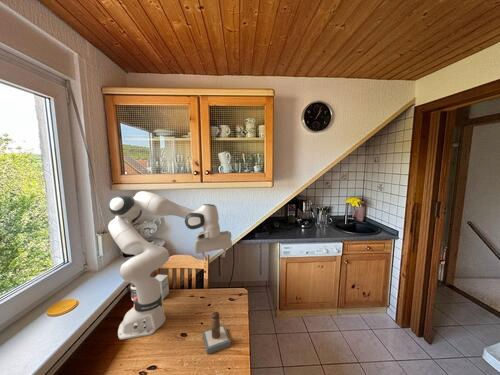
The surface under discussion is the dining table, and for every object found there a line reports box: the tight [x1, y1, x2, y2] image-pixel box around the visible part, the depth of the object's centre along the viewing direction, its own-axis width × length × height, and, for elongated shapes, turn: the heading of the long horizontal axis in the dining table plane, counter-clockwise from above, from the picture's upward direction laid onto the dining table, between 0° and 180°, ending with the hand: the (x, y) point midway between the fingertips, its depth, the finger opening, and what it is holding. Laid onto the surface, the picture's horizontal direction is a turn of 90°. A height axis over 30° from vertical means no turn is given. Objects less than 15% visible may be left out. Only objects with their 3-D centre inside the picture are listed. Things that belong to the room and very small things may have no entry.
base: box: [201, 324, 232, 355], centre depth 104 cm, size 11×11×3 cm
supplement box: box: [154, 274, 170, 301], centre depth 138 cm, size 7×7×13 cm
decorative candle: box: [130, 283, 137, 301], centre depth 137 cm, size 9×9×25 cm
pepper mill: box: [210, 311, 221, 339], centre depth 103 cm, size 4×4×11 cm
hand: (215, 258), depth 119 cm, fingers open, 8 cm apart
